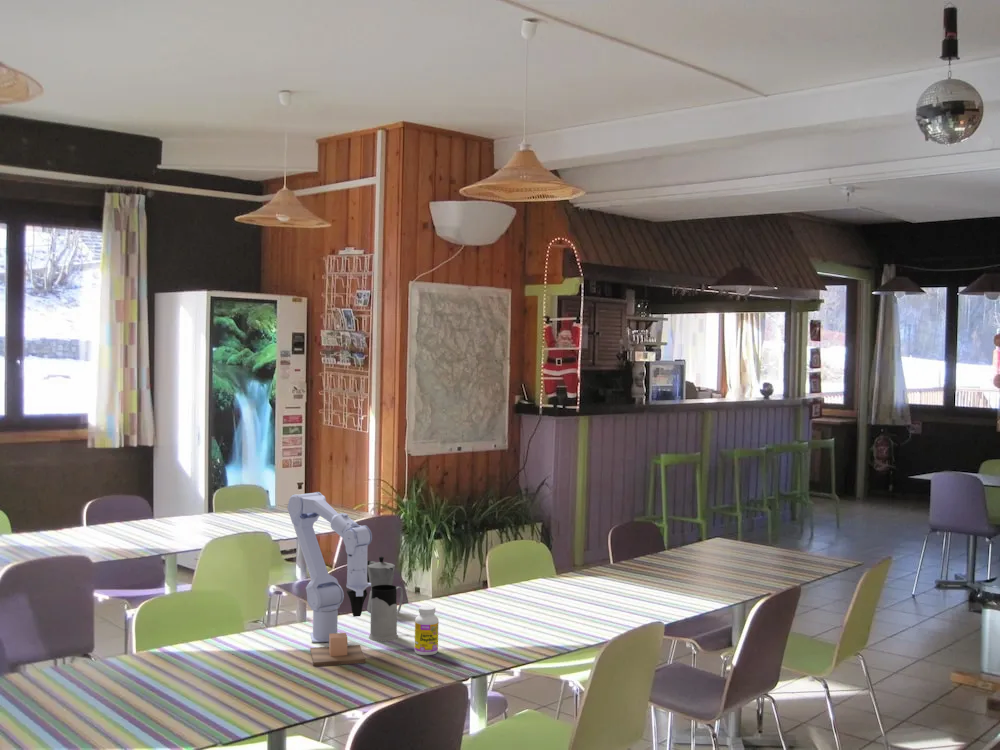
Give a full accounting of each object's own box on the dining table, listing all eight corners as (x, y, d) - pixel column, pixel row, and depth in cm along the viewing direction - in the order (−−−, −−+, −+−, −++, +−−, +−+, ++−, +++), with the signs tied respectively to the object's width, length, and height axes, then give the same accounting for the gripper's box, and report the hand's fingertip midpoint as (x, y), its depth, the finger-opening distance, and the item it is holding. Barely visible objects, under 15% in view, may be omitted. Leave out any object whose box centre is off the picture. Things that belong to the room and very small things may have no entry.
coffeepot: (404, 611, 321) (404, 557, 321) (381, 616, 314) (381, 561, 314) (376, 603, 332) (376, 551, 332) (353, 607, 325) (354, 554, 325)
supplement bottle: (416, 656, 271) (417, 611, 271) (412, 650, 278) (413, 605, 278) (440, 655, 273) (440, 609, 273) (435, 648, 279) (436, 604, 279)
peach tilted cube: (329, 651, 272) (329, 633, 272) (345, 650, 273) (345, 632, 273) (330, 656, 267) (330, 638, 267) (347, 655, 269) (347, 637, 268)
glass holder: (362, 638, 289) (363, 588, 288) (389, 627, 301) (390, 579, 301) (387, 643, 284) (387, 592, 284) (413, 631, 297) (414, 582, 297)
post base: (310, 651, 275) (310, 633, 275) (359, 648, 279) (360, 630, 279) (313, 666, 262) (313, 646, 262) (365, 662, 265) (365, 643, 265)
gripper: (374, 573, 272) (373, 621, 272) (368, 563, 286) (367, 609, 286) (349, 574, 270) (348, 622, 271) (344, 564, 284) (343, 610, 285)
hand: (356, 615), depth 278 cm, fingers closed
